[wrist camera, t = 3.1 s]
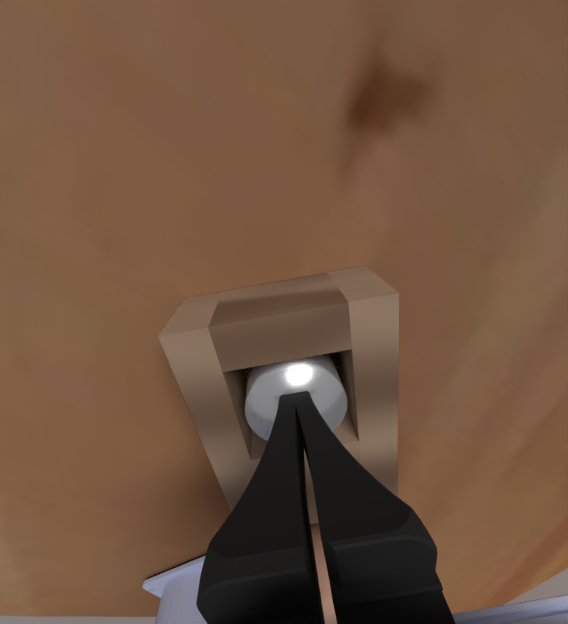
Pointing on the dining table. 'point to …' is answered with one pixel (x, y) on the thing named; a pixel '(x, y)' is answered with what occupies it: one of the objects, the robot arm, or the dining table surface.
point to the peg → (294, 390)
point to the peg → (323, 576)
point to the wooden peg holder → (282, 347)
